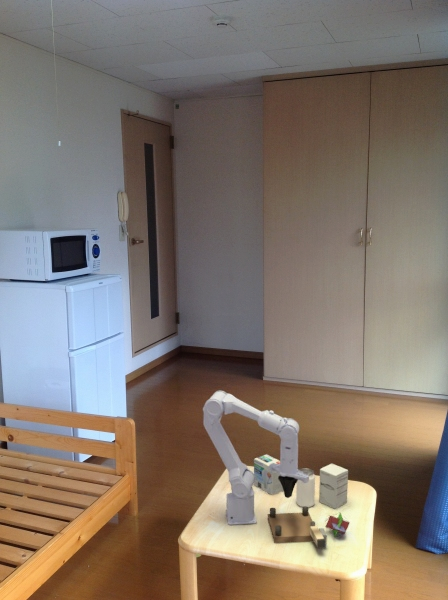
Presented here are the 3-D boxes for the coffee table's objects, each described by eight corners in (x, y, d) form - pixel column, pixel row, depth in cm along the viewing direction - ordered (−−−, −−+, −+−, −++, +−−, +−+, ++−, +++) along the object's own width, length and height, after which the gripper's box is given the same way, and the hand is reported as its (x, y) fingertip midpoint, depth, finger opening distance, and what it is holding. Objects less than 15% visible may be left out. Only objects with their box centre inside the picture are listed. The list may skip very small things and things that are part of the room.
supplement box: (318, 502, 201) (318, 468, 199) (331, 495, 206) (331, 462, 204) (335, 510, 196) (335, 475, 194) (347, 502, 200) (348, 469, 199)
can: (314, 509, 196) (314, 476, 195) (295, 507, 198) (296, 475, 196) (315, 500, 203) (315, 468, 201) (296, 498, 204) (297, 467, 202)
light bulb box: (253, 485, 214) (253, 458, 213) (266, 480, 218) (266, 453, 217) (272, 495, 206) (272, 468, 204) (285, 490, 210) (285, 463, 208)
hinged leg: (324, 547, 169) (325, 537, 169) (317, 548, 169) (318, 538, 169) (315, 530, 179) (315, 520, 178) (308, 530, 178) (308, 521, 178)
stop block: (321, 549, 172) (322, 535, 172) (318, 542, 176) (319, 528, 176) (326, 549, 172) (326, 535, 172) (323, 541, 176) (323, 528, 176)
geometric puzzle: (351, 521, 184) (337, 503, 183) (356, 533, 177) (341, 514, 176) (333, 534, 184) (319, 516, 184) (337, 546, 178) (323, 527, 177)
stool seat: (274, 543, 176) (274, 529, 175) (267, 519, 190) (267, 507, 189) (318, 541, 177) (318, 527, 176) (308, 517, 191) (308, 505, 190)
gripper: (263, 454, 185) (263, 493, 187) (300, 467, 176) (299, 508, 177) (276, 448, 190) (276, 486, 192) (313, 460, 181) (312, 500, 183)
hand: (288, 496), depth 185 cm, fingers closed
